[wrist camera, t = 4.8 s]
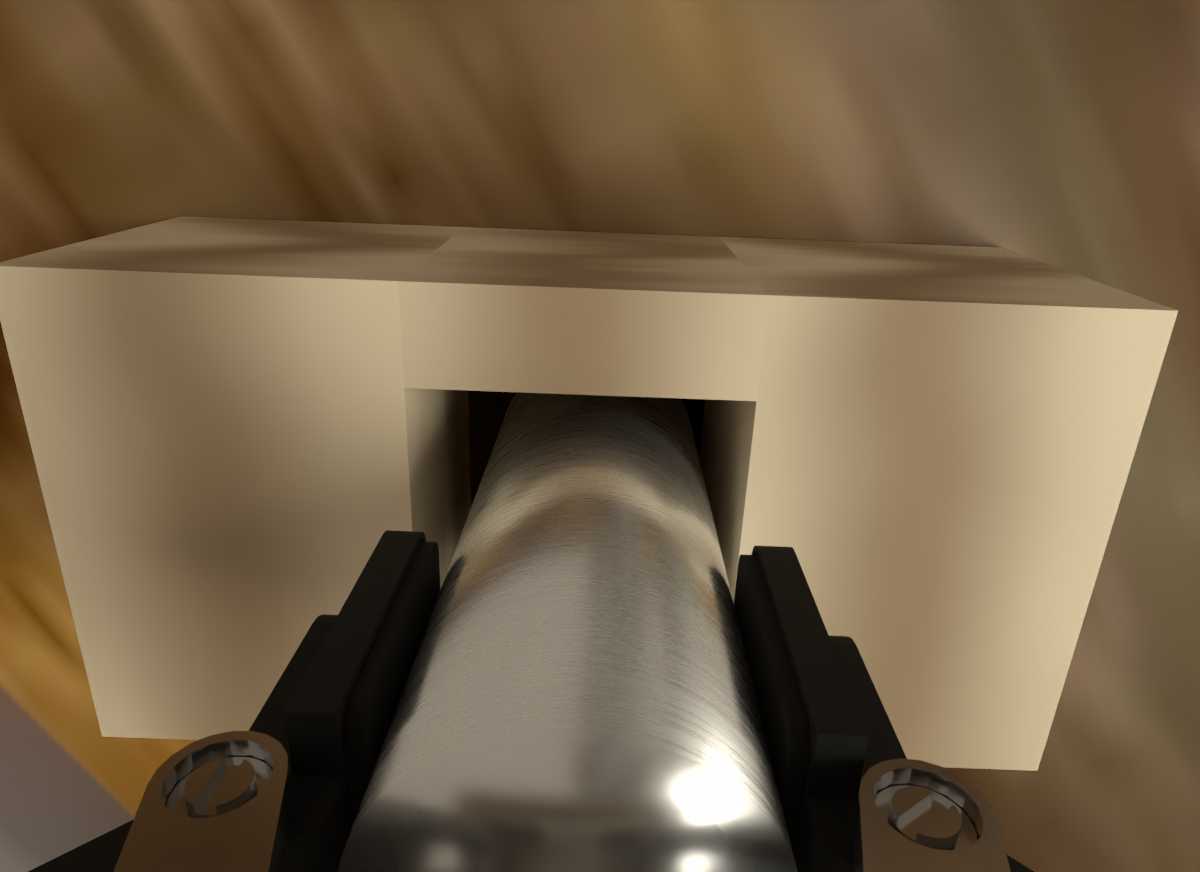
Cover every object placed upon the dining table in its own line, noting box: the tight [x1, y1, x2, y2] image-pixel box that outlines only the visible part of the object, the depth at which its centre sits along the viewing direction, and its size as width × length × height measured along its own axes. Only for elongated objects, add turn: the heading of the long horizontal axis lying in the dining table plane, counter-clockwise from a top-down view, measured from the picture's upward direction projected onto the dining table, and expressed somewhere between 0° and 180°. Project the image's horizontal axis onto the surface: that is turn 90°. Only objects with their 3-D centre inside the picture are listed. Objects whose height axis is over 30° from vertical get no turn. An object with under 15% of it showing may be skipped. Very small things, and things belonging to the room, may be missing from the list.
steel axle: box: [338, 392, 797, 872], centre depth 13 cm, size 4×4×12 cm
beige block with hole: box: [0, 216, 1178, 771], centre depth 17 cm, size 18×9×6 cm, turn 88°
